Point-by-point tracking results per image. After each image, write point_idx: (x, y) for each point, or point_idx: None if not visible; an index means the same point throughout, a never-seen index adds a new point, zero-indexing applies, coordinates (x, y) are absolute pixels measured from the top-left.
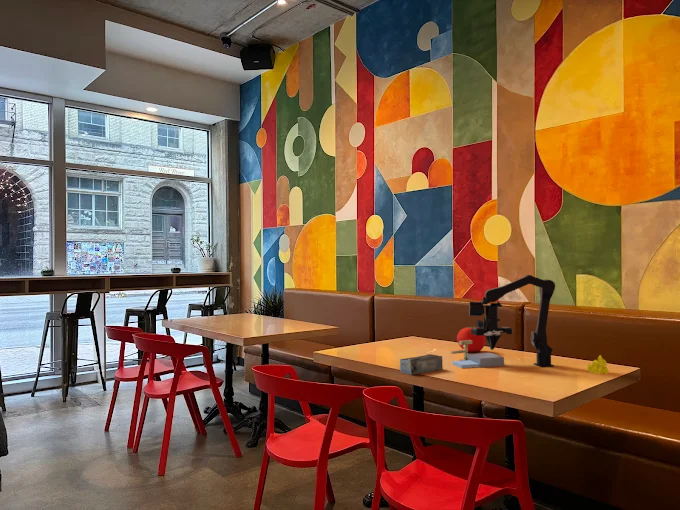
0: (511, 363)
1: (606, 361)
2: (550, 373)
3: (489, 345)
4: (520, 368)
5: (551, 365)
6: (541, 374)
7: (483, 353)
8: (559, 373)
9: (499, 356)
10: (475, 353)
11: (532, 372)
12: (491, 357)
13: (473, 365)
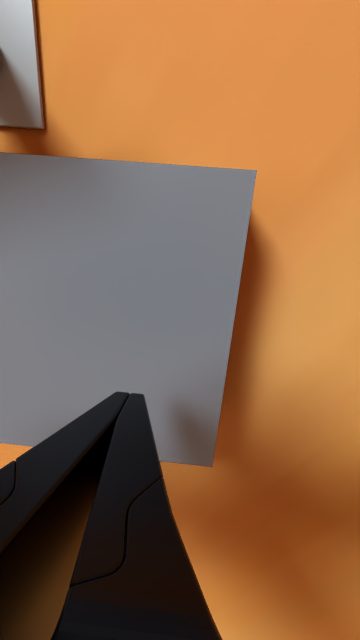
0: (338, 357)
1: None
2: (311, 619)
3: (72, 428)
4: (258, 500)
5: None
6: (250, 615)
7: (118, 197)
8: (354, 631)
9: (191, 430)
10: (4, 155)
11: (242, 580)
12: None
13: None
